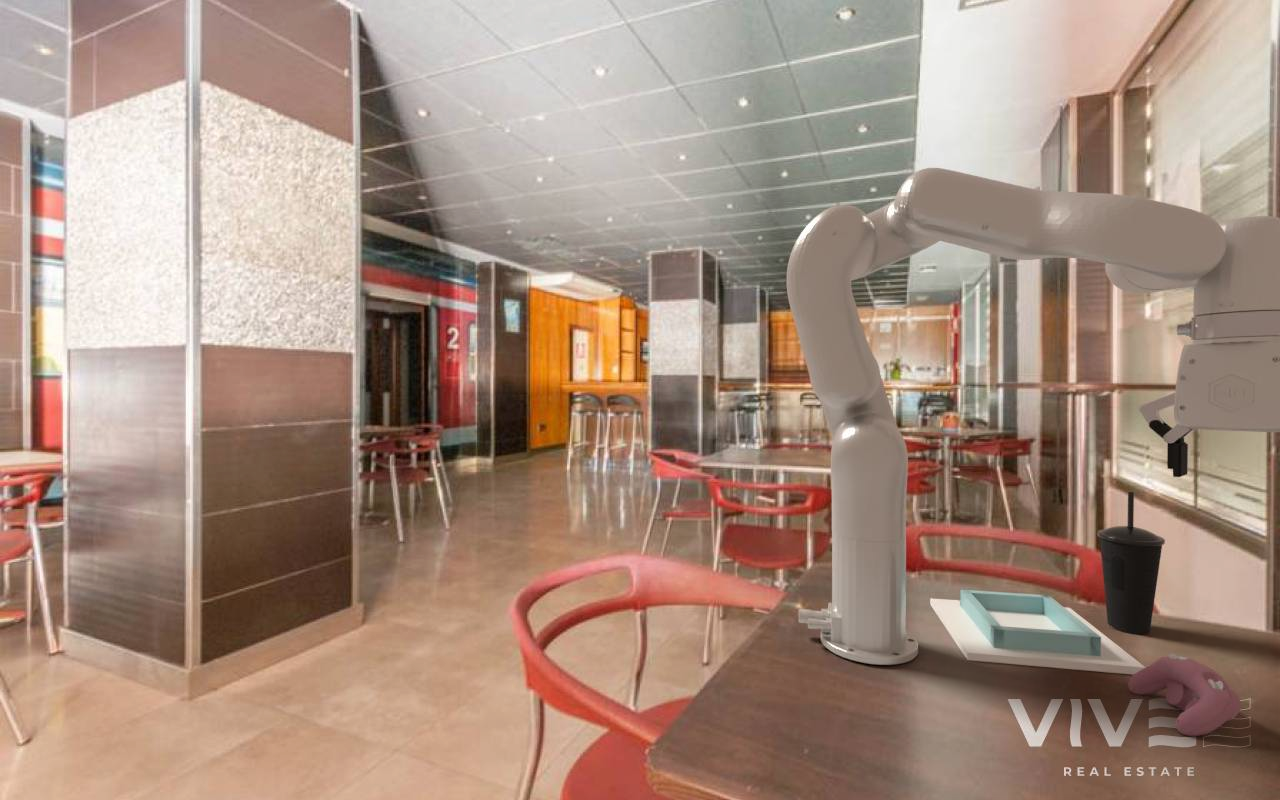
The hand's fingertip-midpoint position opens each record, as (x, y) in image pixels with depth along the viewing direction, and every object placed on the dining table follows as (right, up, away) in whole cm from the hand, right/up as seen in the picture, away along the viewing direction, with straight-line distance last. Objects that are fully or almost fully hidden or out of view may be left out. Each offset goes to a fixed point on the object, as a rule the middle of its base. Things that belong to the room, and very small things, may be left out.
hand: (1235, 480), depth 69 cm
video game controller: (-9, -25, -3) cm, 27 cm away
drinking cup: (+4, -24, +20) cm, 31 cm away
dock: (-13, -24, +17) cm, 33 cm away
